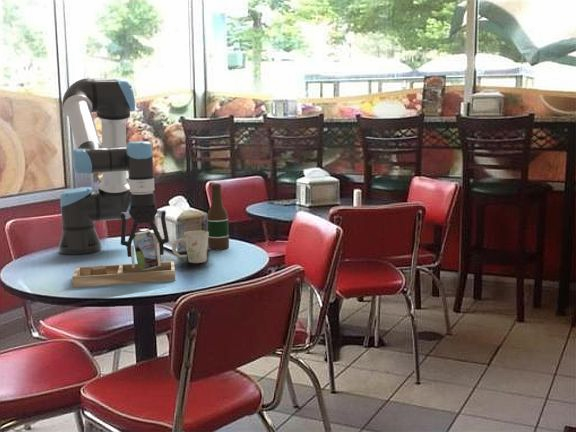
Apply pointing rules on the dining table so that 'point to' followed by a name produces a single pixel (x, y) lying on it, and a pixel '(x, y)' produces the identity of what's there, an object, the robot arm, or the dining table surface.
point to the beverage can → (145, 250)
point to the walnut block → (98, 270)
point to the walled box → (124, 275)
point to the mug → (194, 246)
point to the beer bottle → (217, 221)
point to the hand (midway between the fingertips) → (146, 265)
